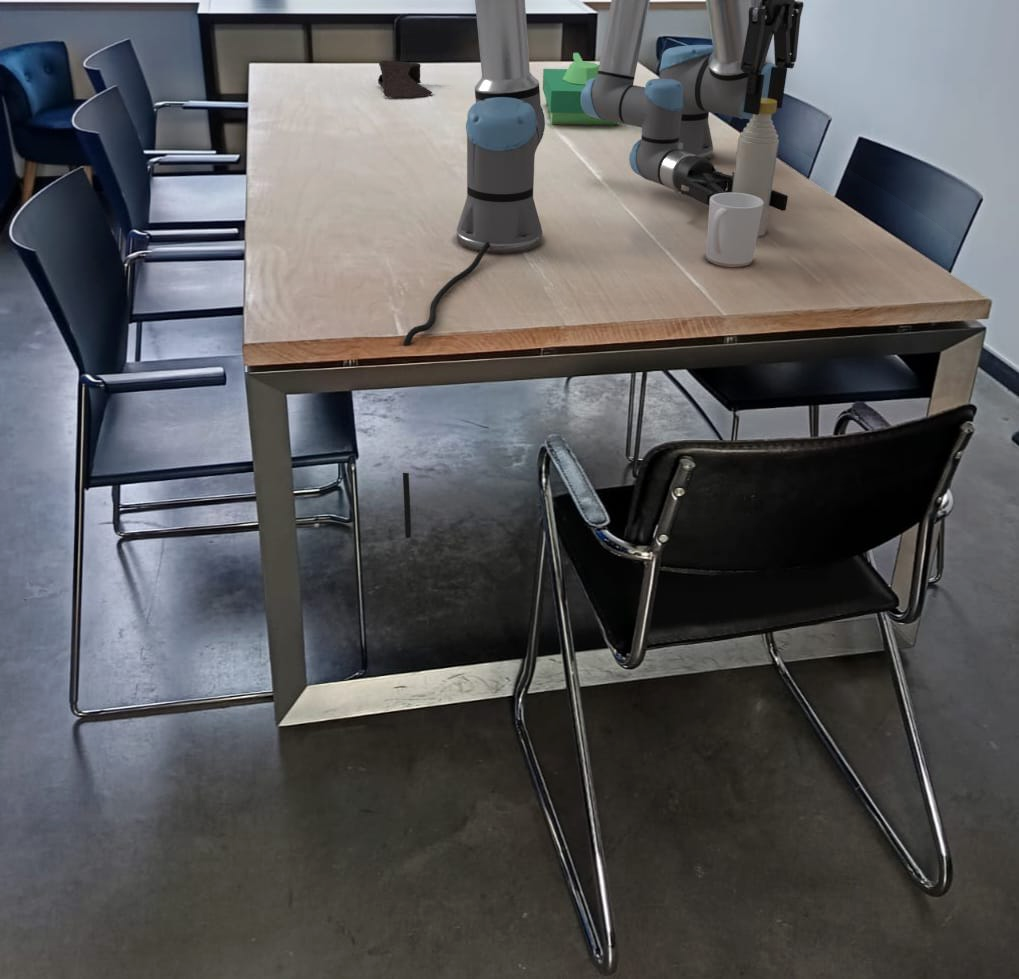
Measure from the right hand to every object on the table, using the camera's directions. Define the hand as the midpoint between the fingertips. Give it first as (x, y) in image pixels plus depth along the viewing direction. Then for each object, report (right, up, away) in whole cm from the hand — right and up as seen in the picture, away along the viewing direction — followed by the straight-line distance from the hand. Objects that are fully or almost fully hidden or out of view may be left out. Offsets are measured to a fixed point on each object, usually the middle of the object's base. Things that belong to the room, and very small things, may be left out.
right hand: (768, 206), depth 197 cm
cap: (-2, +17, -5) cm, 18 cm away
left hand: (-2, +16, -5) cm, 17 cm away
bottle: (-3, -3, +7) cm, 8 cm away
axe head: (-76, +58, +104) cm, 141 cm away
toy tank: (-29, +47, +87) cm, 103 cm away
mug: (-9, -12, -8) cm, 17 cm away
